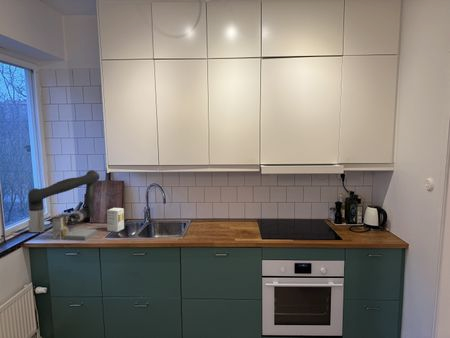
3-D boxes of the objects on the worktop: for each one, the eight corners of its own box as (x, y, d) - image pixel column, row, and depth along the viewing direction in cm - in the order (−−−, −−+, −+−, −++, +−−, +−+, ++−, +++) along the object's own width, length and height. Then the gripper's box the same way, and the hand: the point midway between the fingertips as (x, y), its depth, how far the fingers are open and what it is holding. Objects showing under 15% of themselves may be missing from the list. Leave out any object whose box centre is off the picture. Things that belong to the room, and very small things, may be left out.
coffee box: (60, 235, 211) (59, 214, 210) (69, 235, 211) (68, 214, 209) (52, 239, 202) (51, 217, 201) (61, 239, 202) (60, 217, 200)
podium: (64, 239, 202) (63, 235, 202) (77, 232, 218) (77, 228, 218) (85, 240, 201) (85, 236, 201) (97, 233, 217) (97, 229, 217)
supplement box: (117, 232, 221) (117, 210, 219) (107, 231, 222) (106, 210, 221) (124, 228, 230) (124, 208, 228) (114, 227, 232) (113, 207, 230)
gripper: (67, 212, 225) (53, 218, 208) (84, 213, 223) (71, 218, 207) (67, 221, 225) (53, 228, 209) (84, 222, 224) (72, 228, 208)
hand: (62, 223), depth 208 cm, fingers open, 8 cm apart
